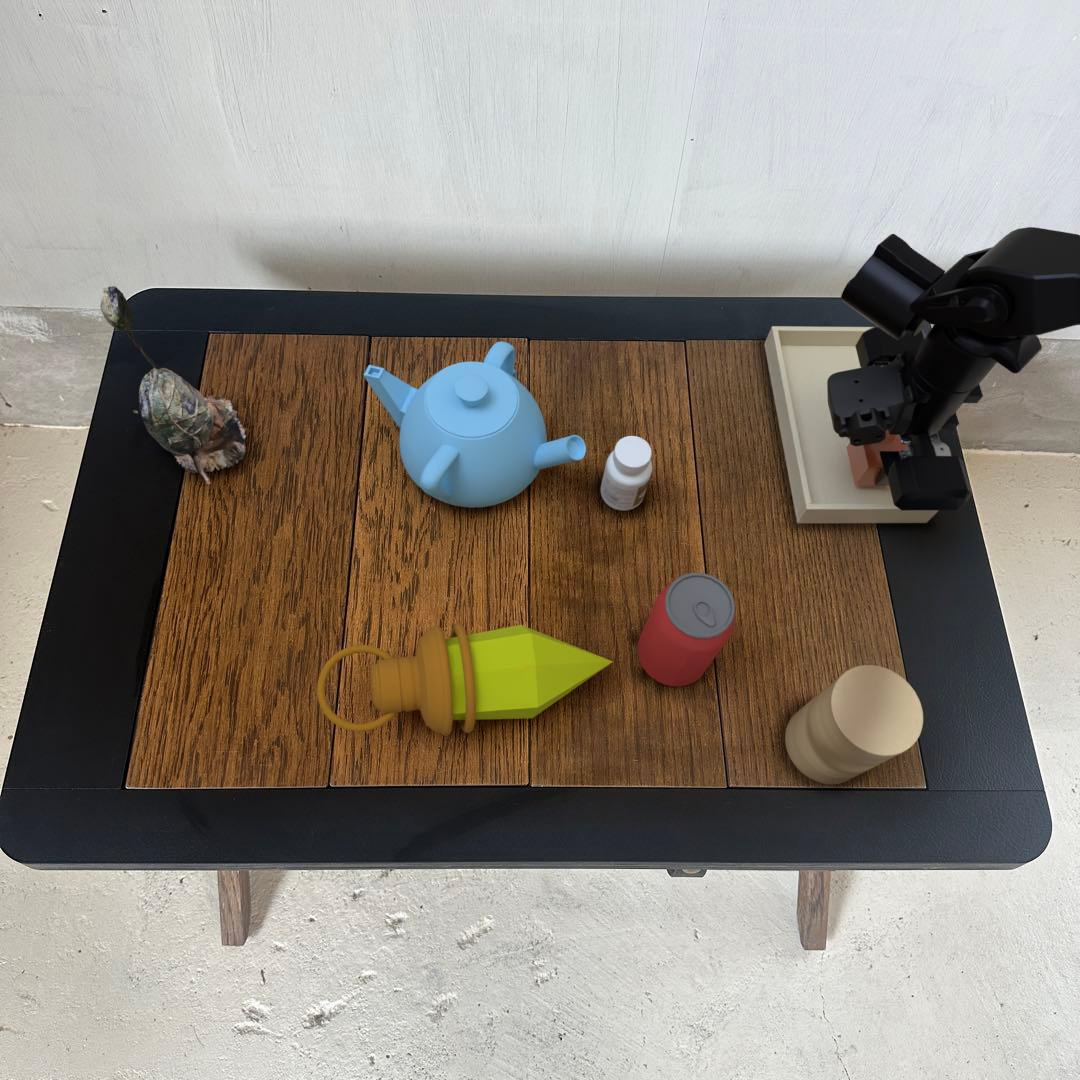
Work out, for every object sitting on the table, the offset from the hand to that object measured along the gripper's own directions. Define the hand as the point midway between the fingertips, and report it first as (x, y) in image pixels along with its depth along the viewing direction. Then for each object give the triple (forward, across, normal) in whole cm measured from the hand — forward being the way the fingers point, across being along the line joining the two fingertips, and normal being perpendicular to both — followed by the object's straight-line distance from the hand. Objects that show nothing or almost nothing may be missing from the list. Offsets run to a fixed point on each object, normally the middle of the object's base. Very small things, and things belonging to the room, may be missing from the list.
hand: (874, 463), depth 85 cm
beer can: (+2, +19, -22) cm, 29 cm away
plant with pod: (+2, -3, -67) cm, 67 cm away
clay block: (0, 0, 0) cm, 0 cm away
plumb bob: (+2, +22, -40) cm, 46 cm away
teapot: (+2, -2, -40) cm, 40 cm away
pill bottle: (+2, +2, -25) cm, 25 cm away
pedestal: (+2, +27, -9) cm, 29 cm away
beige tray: (+2, -6, -2) cm, 6 cm away
